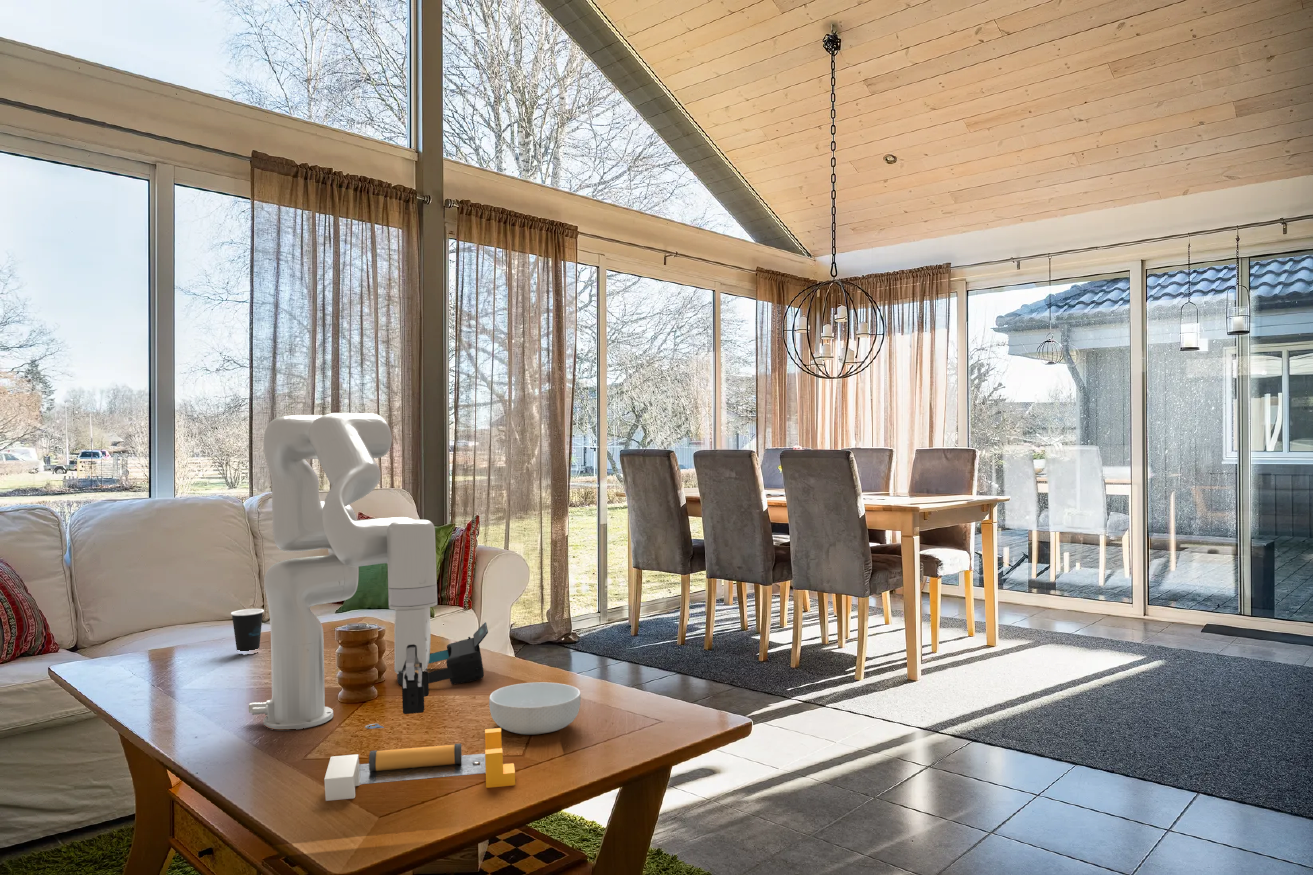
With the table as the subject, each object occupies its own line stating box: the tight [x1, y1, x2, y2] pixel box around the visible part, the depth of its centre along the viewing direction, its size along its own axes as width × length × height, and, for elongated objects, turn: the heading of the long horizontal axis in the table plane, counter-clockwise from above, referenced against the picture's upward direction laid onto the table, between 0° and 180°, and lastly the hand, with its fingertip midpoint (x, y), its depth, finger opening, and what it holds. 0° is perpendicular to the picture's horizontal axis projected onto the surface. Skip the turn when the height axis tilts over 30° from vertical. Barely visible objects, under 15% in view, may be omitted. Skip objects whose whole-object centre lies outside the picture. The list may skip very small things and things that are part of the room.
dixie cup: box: [230, 608, 265, 651], centre depth 232 cm, size 8×8×11 cm
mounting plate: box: [359, 753, 486, 785], centre depth 141 cm, size 22×9×1 cm, turn 101°
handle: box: [368, 743, 463, 771], centre depth 142 cm, size 14×3×3 cm
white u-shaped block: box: [323, 754, 361, 802], centre depth 132 cm, size 4×6×5 cm
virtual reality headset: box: [396, 621, 489, 687], centre depth 203 cm, size 19×22×10 cm
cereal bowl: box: [488, 681, 582, 735], centre depth 162 cm, size 17×17×7 cm
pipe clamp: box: [484, 727, 516, 789], centre depth 139 cm, size 12×4×6 cm, turn 11°
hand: (416, 704), depth 141 cm, fingers open, 9 cm apart
